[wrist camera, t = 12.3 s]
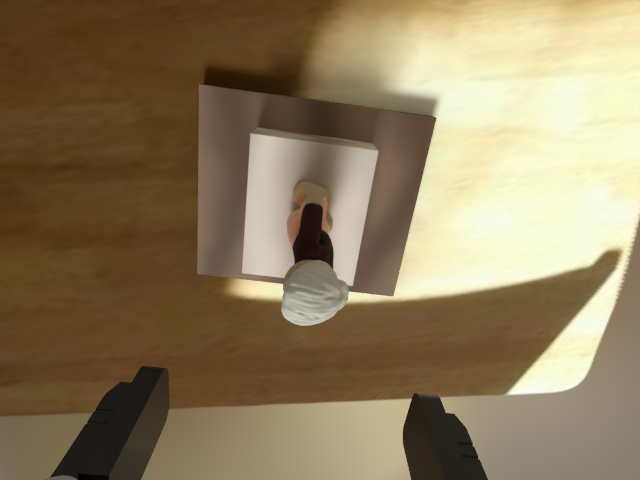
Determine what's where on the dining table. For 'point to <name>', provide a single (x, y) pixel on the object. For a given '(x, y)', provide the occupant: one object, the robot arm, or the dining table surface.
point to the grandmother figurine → (311, 260)
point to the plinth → (307, 117)
